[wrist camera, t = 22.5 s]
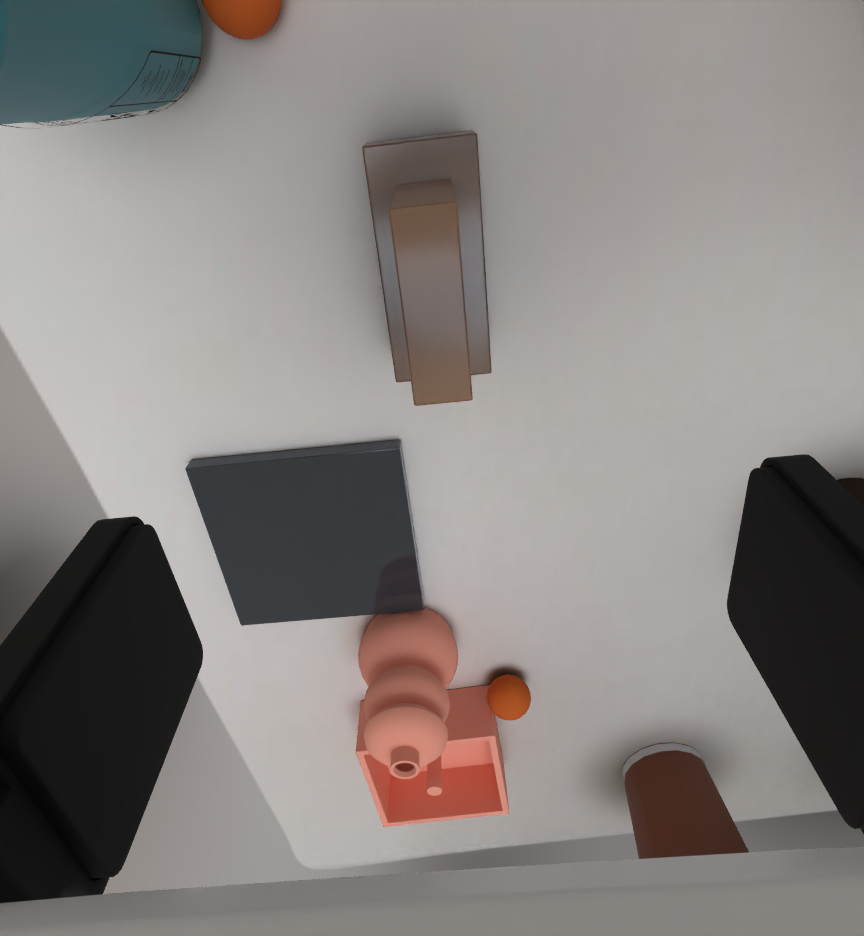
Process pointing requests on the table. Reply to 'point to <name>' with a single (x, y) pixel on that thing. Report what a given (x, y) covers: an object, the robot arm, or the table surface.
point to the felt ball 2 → (508, 697)
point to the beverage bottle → (94, 57)
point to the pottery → (425, 726)
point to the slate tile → (312, 531)
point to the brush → (431, 260)
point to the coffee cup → (677, 805)
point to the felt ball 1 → (243, 16)
